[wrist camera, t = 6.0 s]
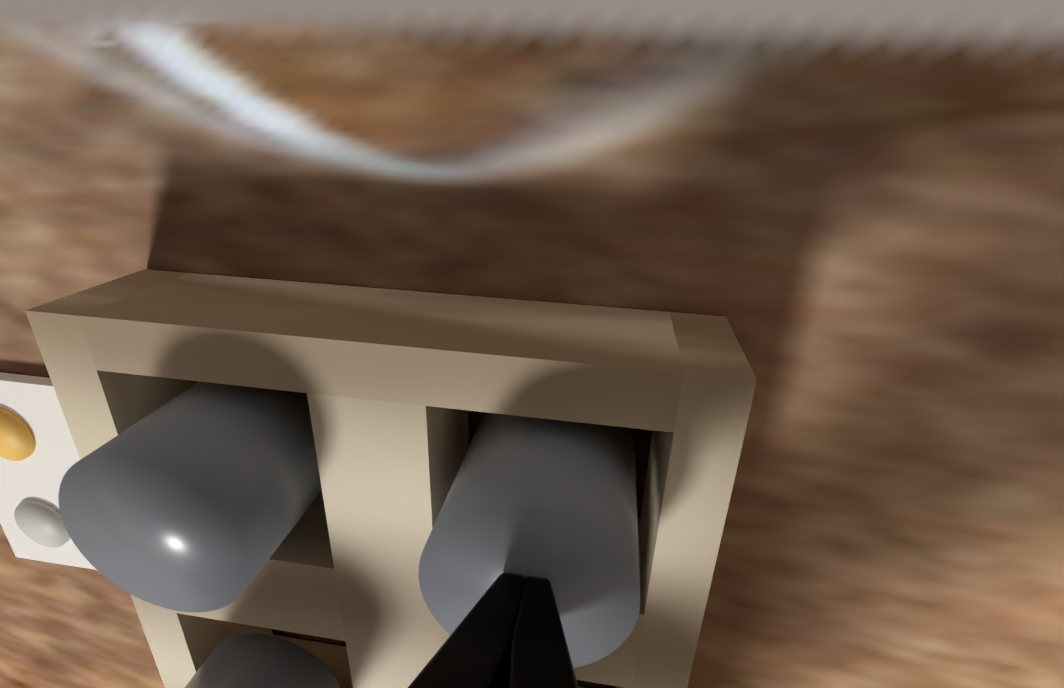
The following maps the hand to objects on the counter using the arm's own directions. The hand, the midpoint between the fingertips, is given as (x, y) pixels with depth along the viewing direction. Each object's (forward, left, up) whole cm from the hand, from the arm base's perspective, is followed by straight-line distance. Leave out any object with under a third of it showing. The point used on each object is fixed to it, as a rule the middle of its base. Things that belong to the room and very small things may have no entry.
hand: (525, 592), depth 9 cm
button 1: (0, 0, -4) cm, 4 cm away
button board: (-5, -1, -5) cm, 7 cm away
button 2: (-6, +4, -4) cm, 8 cm away
